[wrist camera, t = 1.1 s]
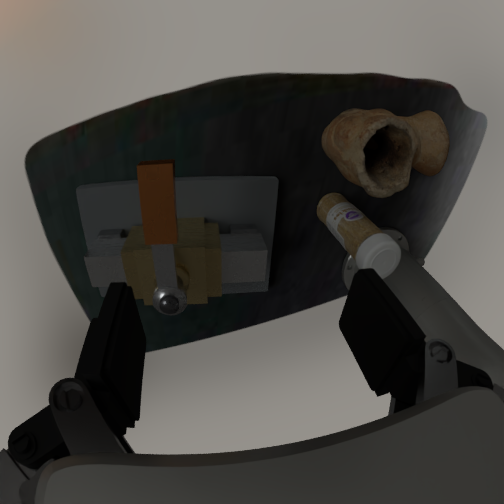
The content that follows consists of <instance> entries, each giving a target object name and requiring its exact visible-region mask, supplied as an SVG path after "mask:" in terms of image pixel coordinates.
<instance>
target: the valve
mask: <svg viewBox="0 0 504 504" xmlns="http://www.w3.org/2000/svg"><path fill="white" fill-rule="evenodd" d="M177 223H178V242H177V244H174V250H175V260H176V269H177V278H178V283H180V284H181V285H183V286H184V288H185V289H186V291H187V304H203V303H208V302H207V297H215V296H222V283H239V282H258V281H265V274H266V264H267V253H268V250H267V247H266V245H265V242H264V240H263V238H262V235H261V233H256V232H257V229H256V226H255V224H230V226H229V234H219V226H218V223H204V217H196V218H177ZM97 236H98V239H95V240H94V241H93V243H92V244H91V246H90V248H89V249H88V251H87V253H86V254H85V256H84V260H85V264H86V267H87V271H88V274H89V277H90V281H91V284H92V287H109V285H110V283H111V282H126V284H127V286H131V287H132V289H133V293H134V297H135V299H144V304H145V305H153V302H152V300H153V294H154V289H155V287H156V286H157V281H156V275H155V269H154V262H153V255H152V248H151V245H145V239H144V231H143V225H142V226H132V228H131V230H130V232H129V234H128V236H127V238H124V232H123V229H107V230H101V231H100V232H99V234H98V235H97Z"/></svg>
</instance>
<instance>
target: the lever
mask: <svg viewBox="0 0 504 504" xmlns="http://www.w3.org/2000/svg"><path fill="white" fill-rule="evenodd" d="M137 174H138V186H139V197H140V206H141V215H142V224H143V231H144V239H145V245H151V248H152V255H153V262H154V269H155V275H156V281H157V286H156V287H155V289H154V294H153V300H152V302H153V305H154V307H155V308H156V310H158V311H159V312H161V313H163V314H166V315H176V314H179V313H181V312H183V311H184V310H185V308H186V306H187V291H186V289H185V288H184V286H183V285H181V284H180V283H178V278H177V269H176V260H175V250H174V244H177V242H178V223H177V207H176V188H175V159H171V160H154V161H141V162H140V163H139V164H138V165H137Z"/></svg>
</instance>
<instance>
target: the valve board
mask: <svg viewBox="0 0 504 504" xmlns="http://www.w3.org/2000/svg"><path fill="white" fill-rule="evenodd" d="M278 183H279V180H278V179H277V177H274V176H206V177H177V178H175V188H176V207H177V218H196V217H204V223H218V226H219V234H229V226H230V224H255V226H256V229H257V232H256V233H261V235H262V238H263V240H264V242H265V245H266V247H267V250H268V253H267V264H266V274H265V281H258V282H239V283H222V294H226V293H245V292H261V291H268V282H269V273H270V264H271V254H272V245H273V235H274V225H275V215H276V204H277V194H278ZM76 193H77V199H78V205H79V210H80V216H81V221H82V225H83V230H84V234H85V239H86V243H87V247H88V249H89V248H90V246H91V244H92V243H93V241H94V240H95V239H98V236H97V235H98V234H99V232H100V231H101V230H107V229H123V232H124V238H127V236H128V234H129V232H130V230H131V228H132V226H142V225H143V224H142V215H141V206H140V197H139V186H138V180H129V181H117V182H106V183H97V184H88V185H80V186H79V187H78V188H77V189H76ZM99 290H100V293H101V297H105V296H106V293H107V290H108V287H99Z"/></svg>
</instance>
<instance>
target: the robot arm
mask: <svg viewBox="0 0 504 504" xmlns="http://www.w3.org/2000/svg"><path fill="white" fill-rule="evenodd" d="M379 229H380V230H381V231H382V232H383V233H385V234H387V235H389V236H390V237H391V238H392V239H393V240H394V241H395V242H396V243H397V244H398V245H399V247H400V249H401V259H400V262H399V264H398V266H397V267H396V269H395V270H394V271H393V272H392V273H391V274H390V275H389V276H387V277H386V278H383V279H382V278H381V277H380V276H379V275H378V273H377V272H376V271H375V270H374V269H373V268H365V269H359V268H358V266H357V264H356V261H355V260H354V259H353V257H352V256H351V255H350V254H349V253H347V255H346V257H345V259H344V263H343V266H342V279H343V282H344V284H345V286H346V287H347V289H348V290H349V293H348V296H347V299H346V303H345V305H344V308H343V311H342V314H341V317H340V320H339V327H340V330H341V332H342V334H343V336H344V338H345V340H346V341H347V343H348V345H349V347H350V349H351V351H352V352H353V355H354V357H355V359H356V361H357V363H358V365H359V367H360V369H361V371H362V372H363V375H364V377H365V379H366V381H367V383H368V385H369V387H370V388H371V390H373V391H375V393H376V395H377V396H381V395H384V394H387V393H389V392H390V394H391V402H390V408H389V414H388V416H386V417H384V418H382V419H378V420H375V421H373V422H370V423H367V424H364V425H361V426H357V427H354V428H351V429H348V430H344V431H341V432H337V433H333V434H330V435H326V436H322V437H318V438H313V439H309V440H305V441H300V442H295V443H291V444H285V445H279V446H273V447H267V448H260V449H252V450H244V451H235V452H224V453H211V454H181V455H157V454H156V455H154V454H135V452H134V451H133V450H132V448H131V447H130V445H129V444H128V442H127V441H126V439H125V438H124V436H123V435H125V434H126V428H127V427H130V428H134V427H135V421H138V420H139V418H140V405H141V391H142V379H143V369H144V359H145V351H146V337H145V333H144V330H143V326H142V323H141V320H140V316H139V312H138V309H137V305H136V301H135V297H134V293H133V289H132V287H131V286H127V284H126V282H111V283H110V285H109V287H108V290H107V293H106V296H105V298H104V301H103V304H102V307H101V310H100V313H99V316H98V318H93V319H92V321H91V323H90V326H89V329H88V332H87V335H86V338H85V342H84V345H83V348H82V351H81V355H80V358H79V362H78V365H77V369H76V373H75V377H74V378H65V379H62V380H60V381H59V382H57V383H56V384H55V385H54V386H53V387H52V389H51V391H50V393H49V404H50V405H48V406H47V407H45V408H44V409H42V410H41V411H40V412H38V413H37V414H35V415H34V416H33V417H31V418H29V419H28V420H26V421H25V422H24V423H22V424H21V425H19V426H18V427H16V428H15V429H14V430H13V431H12V432H11V434H10V436H9V440H8V449H7V450H5V449H3V450H2V451H1V452H0V504H504V350H503V349H502V348H501V347H500V346H499V345H498V344H497V343H496V342H494V341H493V340H492V339H491V338H490V337H489V336H488V335H487V334H486V333H485V332H484V331H483V330H482V329H481V328H480V327H479V326H478V325H477V324H476V323H475V322H474V321H473V320H472V319H471V318H470V317H469V316H468V315H467V313H466V312H465V311H464V310H463V309H462V308H461V307H460V306H459V305H458V303H457V302H456V301H455V300H454V299H453V298H452V297H451V296H450V295H449V294H448V293H447V292H446V291H445V290H444V289H443V287H442V286H441V285H440V284H439V283H438V282H437V281H436V280H435V279H434V278H433V277H432V276H431V275H430V274H429V273H428V272H427V271H426V270H425V269H424V268H423V267H422V266H423V265H424V263H425V261H424V259H423V258H415V257H414V256H413V255H412V254H411V253H410V252H409V244H408V242H407V239H406V238H405V236H404V235H403V234H402V233H401V232H399V231H398V230H396V229H394V228H390V227H382V228H379Z"/></svg>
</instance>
